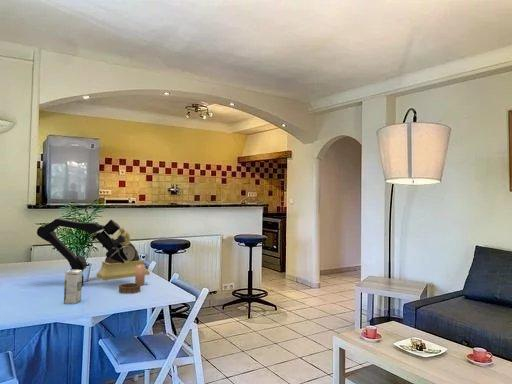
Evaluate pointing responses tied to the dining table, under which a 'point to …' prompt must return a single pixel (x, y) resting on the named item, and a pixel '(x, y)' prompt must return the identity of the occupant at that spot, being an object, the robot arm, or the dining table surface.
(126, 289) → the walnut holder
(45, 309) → the dining table surface
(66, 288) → the syrup box
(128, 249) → the decorative clock
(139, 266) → the terracotta canister
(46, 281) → the dining table surface
